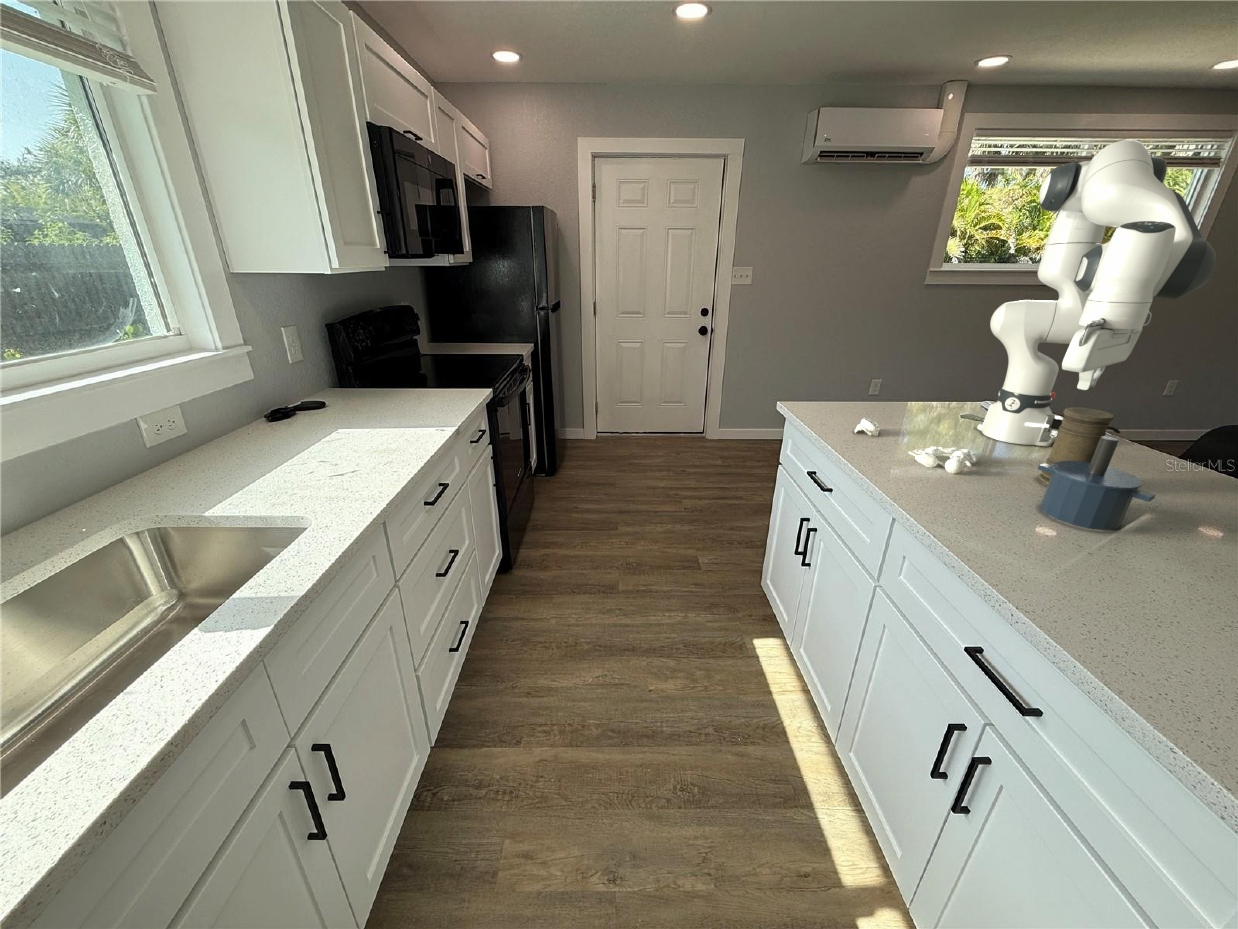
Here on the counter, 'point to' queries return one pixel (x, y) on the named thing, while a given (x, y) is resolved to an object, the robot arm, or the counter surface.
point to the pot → (1087, 502)
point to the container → (1077, 437)
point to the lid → (1099, 469)
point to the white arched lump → (868, 427)
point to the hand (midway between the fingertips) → (1085, 388)
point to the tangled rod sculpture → (951, 465)
